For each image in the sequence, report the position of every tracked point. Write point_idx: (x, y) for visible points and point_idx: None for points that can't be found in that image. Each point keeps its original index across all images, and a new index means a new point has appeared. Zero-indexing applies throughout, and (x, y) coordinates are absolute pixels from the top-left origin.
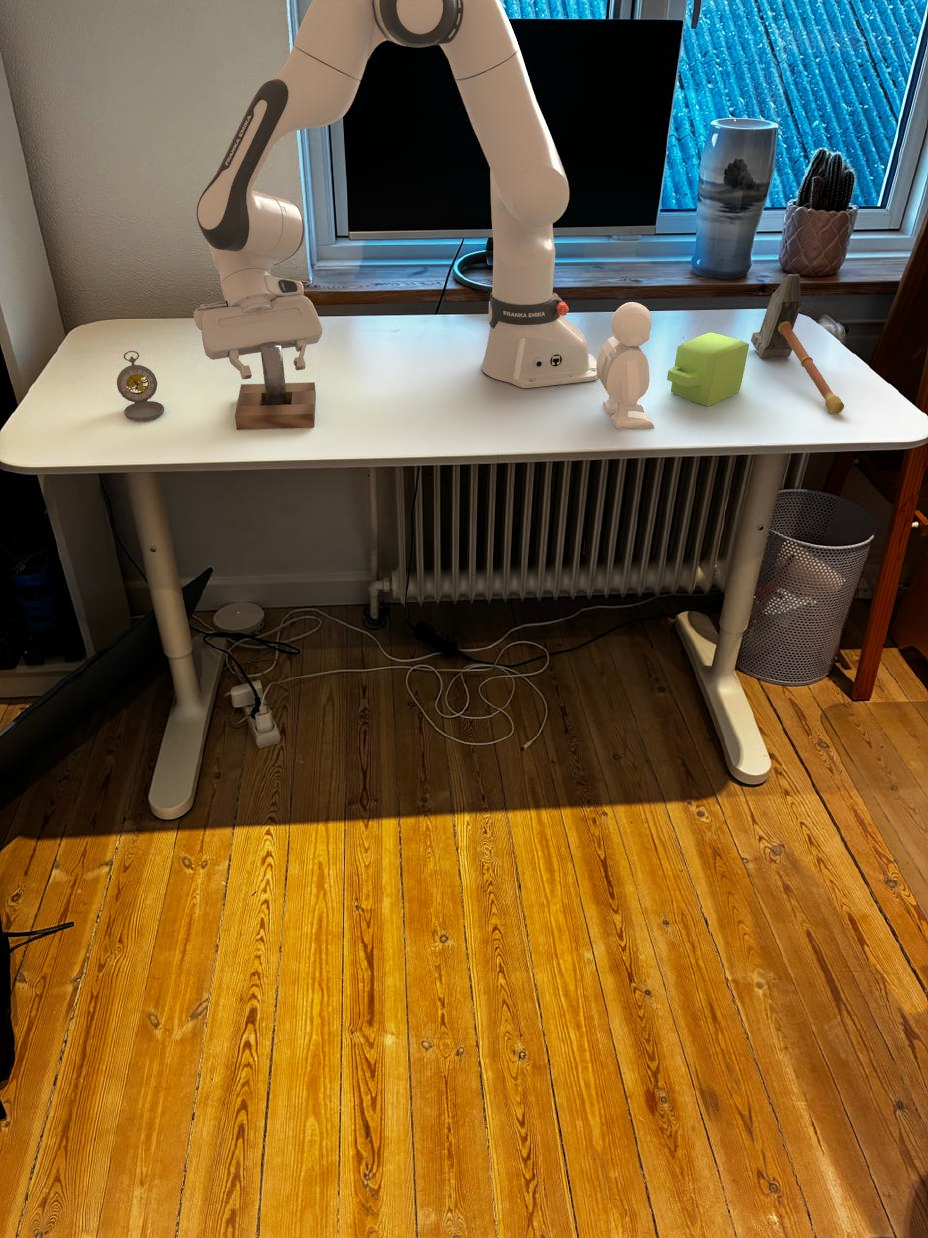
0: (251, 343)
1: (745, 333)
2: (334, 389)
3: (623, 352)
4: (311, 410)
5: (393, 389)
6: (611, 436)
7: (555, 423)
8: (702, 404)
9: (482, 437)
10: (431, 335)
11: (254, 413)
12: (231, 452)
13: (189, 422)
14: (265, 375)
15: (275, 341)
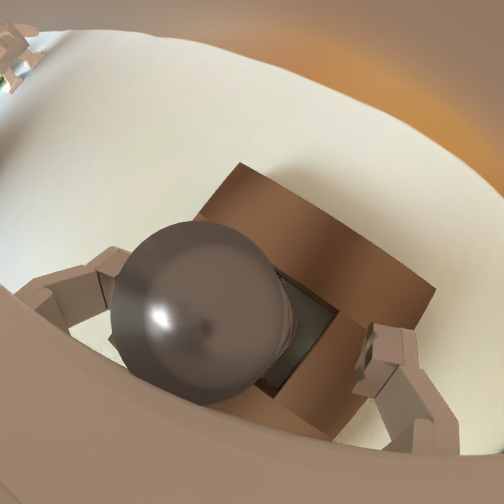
0: (309, 446)
1: None
2: (85, 332)
3: (5, 19)
4: (230, 181)
5: (33, 245)
6: (58, 45)
7: (49, 71)
8: (2, 77)
9: (103, 58)
10: None
11: (382, 267)
12: (466, 196)
13: (475, 405)
14: (293, 316)
15: (113, 363)
